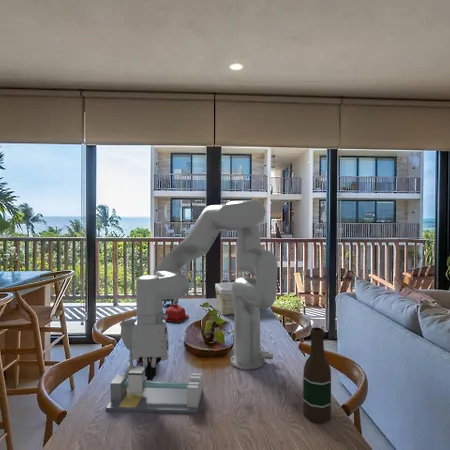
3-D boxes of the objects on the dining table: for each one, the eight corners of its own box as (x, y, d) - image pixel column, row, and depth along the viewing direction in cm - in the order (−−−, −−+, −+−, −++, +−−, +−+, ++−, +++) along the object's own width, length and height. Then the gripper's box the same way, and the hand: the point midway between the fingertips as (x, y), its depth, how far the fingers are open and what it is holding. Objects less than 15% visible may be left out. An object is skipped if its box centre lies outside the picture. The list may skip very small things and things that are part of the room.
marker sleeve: (146, 387, 101) (146, 366, 101) (142, 395, 97) (141, 373, 96) (133, 387, 101) (132, 366, 101) (128, 394, 97) (128, 372, 97)
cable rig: (202, 390, 104) (202, 370, 103) (196, 413, 92) (196, 391, 92) (121, 387, 106) (121, 368, 105) (105, 410, 94) (105, 388, 93)
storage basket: (253, 305, 197) (253, 280, 197) (263, 313, 182) (263, 286, 181) (214, 308, 192) (214, 283, 191) (220, 316, 176) (220, 289, 175)
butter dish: (190, 317, 176) (190, 301, 175) (179, 324, 165) (179, 307, 165) (171, 315, 180) (171, 299, 180) (159, 321, 169) (159, 305, 169)
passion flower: (176, 315, 195) (178, 302, 188) (157, 313, 194) (159, 299, 187) (178, 300, 205) (181, 287, 197) (161, 298, 203) (162, 284, 196)
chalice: (122, 381, 110) (121, 327, 109) (119, 372, 116) (117, 321, 115) (144, 375, 113) (143, 323, 112) (140, 367, 119) (139, 318, 118)
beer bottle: (298, 407, 94) (298, 324, 93) (325, 406, 95) (325, 323, 94) (307, 425, 86) (308, 334, 85) (336, 423, 87) (337, 333, 86)
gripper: (177, 314, 101) (178, 373, 102) (129, 313, 102) (130, 371, 103) (172, 322, 93) (172, 385, 94) (120, 321, 94) (121, 384, 95)
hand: (150, 378), depth 98 cm, fingers closed
